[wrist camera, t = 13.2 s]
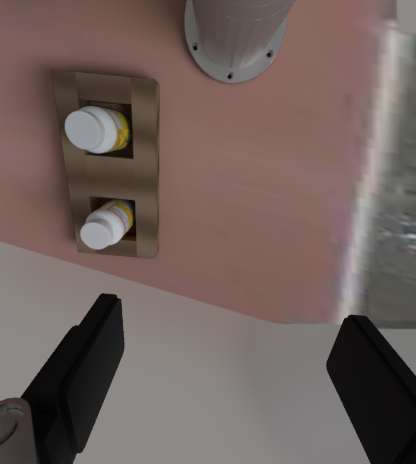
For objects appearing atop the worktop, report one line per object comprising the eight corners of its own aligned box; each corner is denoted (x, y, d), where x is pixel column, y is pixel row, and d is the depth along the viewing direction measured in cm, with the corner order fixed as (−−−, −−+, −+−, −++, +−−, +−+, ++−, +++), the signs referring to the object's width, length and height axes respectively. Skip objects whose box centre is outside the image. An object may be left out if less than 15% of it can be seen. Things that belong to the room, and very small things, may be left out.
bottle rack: (64, 74, 33) (51, 69, 30) (159, 83, 33) (154, 79, 30) (86, 244, 43) (78, 252, 40) (158, 250, 43) (154, 258, 40)
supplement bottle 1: (118, 102, 34) (85, 92, 25) (140, 137, 35) (116, 140, 27) (89, 123, 35) (47, 120, 26) (112, 156, 37) (80, 164, 28)
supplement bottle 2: (107, 227, 41) (78, 253, 32) (103, 196, 39) (70, 216, 30) (138, 228, 41) (117, 255, 32) (136, 198, 39) (112, 218, 30)
